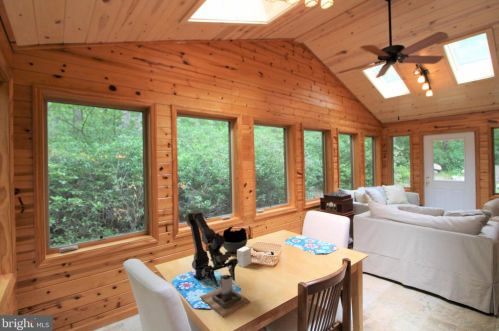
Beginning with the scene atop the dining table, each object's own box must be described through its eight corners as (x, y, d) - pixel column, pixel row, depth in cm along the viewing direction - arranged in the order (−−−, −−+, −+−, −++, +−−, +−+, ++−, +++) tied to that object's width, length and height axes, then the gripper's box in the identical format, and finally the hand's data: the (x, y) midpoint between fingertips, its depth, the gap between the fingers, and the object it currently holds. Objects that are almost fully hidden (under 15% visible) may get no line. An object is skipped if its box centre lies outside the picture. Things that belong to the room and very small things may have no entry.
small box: (244, 261, 170) (244, 246, 169) (251, 263, 166) (251, 247, 166) (237, 265, 163) (236, 249, 163) (243, 267, 160) (243, 251, 159)
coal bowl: (215, 251, 188) (215, 227, 187) (236, 245, 201) (235, 222, 201) (232, 259, 173) (231, 232, 172) (253, 251, 186) (252, 226, 186)
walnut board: (199, 298, 126) (199, 292, 126) (225, 287, 136) (225, 281, 136) (222, 317, 111) (222, 310, 111) (249, 302, 121) (249, 296, 121)
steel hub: (220, 297, 125) (219, 275, 124) (232, 295, 125) (231, 274, 125) (220, 303, 119) (219, 280, 118) (233, 302, 119) (232, 279, 119)
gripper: (203, 251, 120) (213, 282, 111) (236, 242, 131) (248, 271, 122) (197, 261, 127) (206, 292, 118) (229, 252, 137) (240, 280, 129)
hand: (226, 283), depth 122 cm, fingers open, 9 cm apart
